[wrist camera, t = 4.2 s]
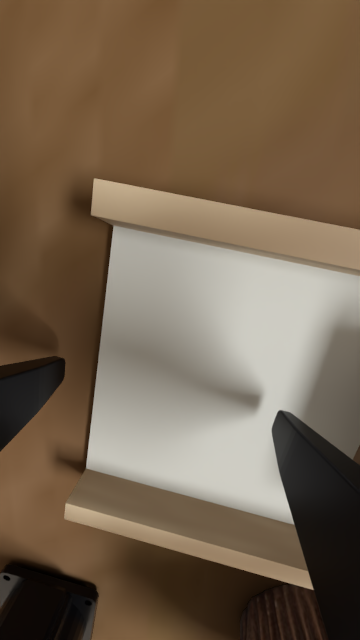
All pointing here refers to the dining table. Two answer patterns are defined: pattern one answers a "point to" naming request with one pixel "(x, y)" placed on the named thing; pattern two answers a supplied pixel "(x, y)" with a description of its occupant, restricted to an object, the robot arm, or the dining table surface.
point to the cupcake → (283, 615)
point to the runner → (219, 368)
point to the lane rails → (169, 507)
